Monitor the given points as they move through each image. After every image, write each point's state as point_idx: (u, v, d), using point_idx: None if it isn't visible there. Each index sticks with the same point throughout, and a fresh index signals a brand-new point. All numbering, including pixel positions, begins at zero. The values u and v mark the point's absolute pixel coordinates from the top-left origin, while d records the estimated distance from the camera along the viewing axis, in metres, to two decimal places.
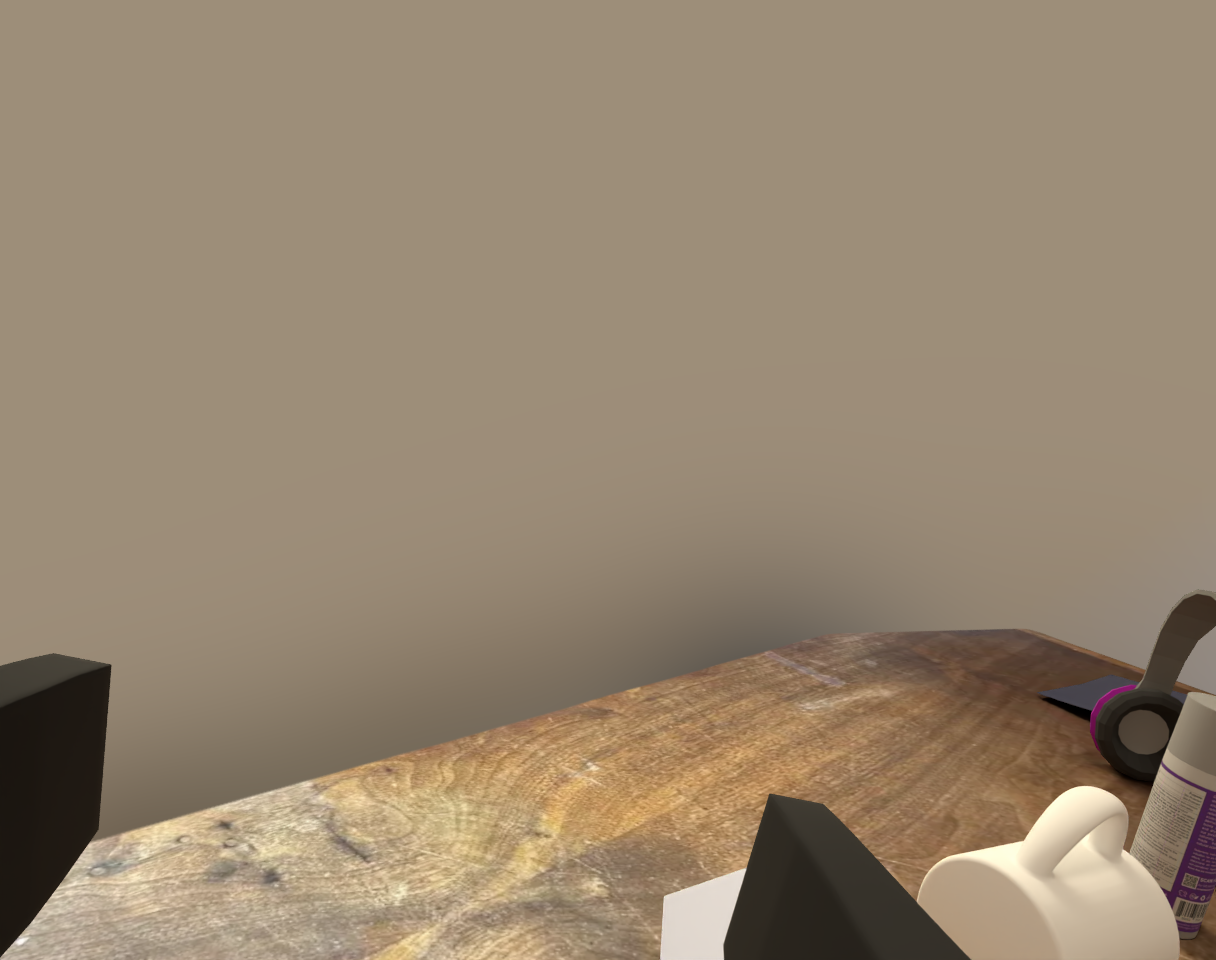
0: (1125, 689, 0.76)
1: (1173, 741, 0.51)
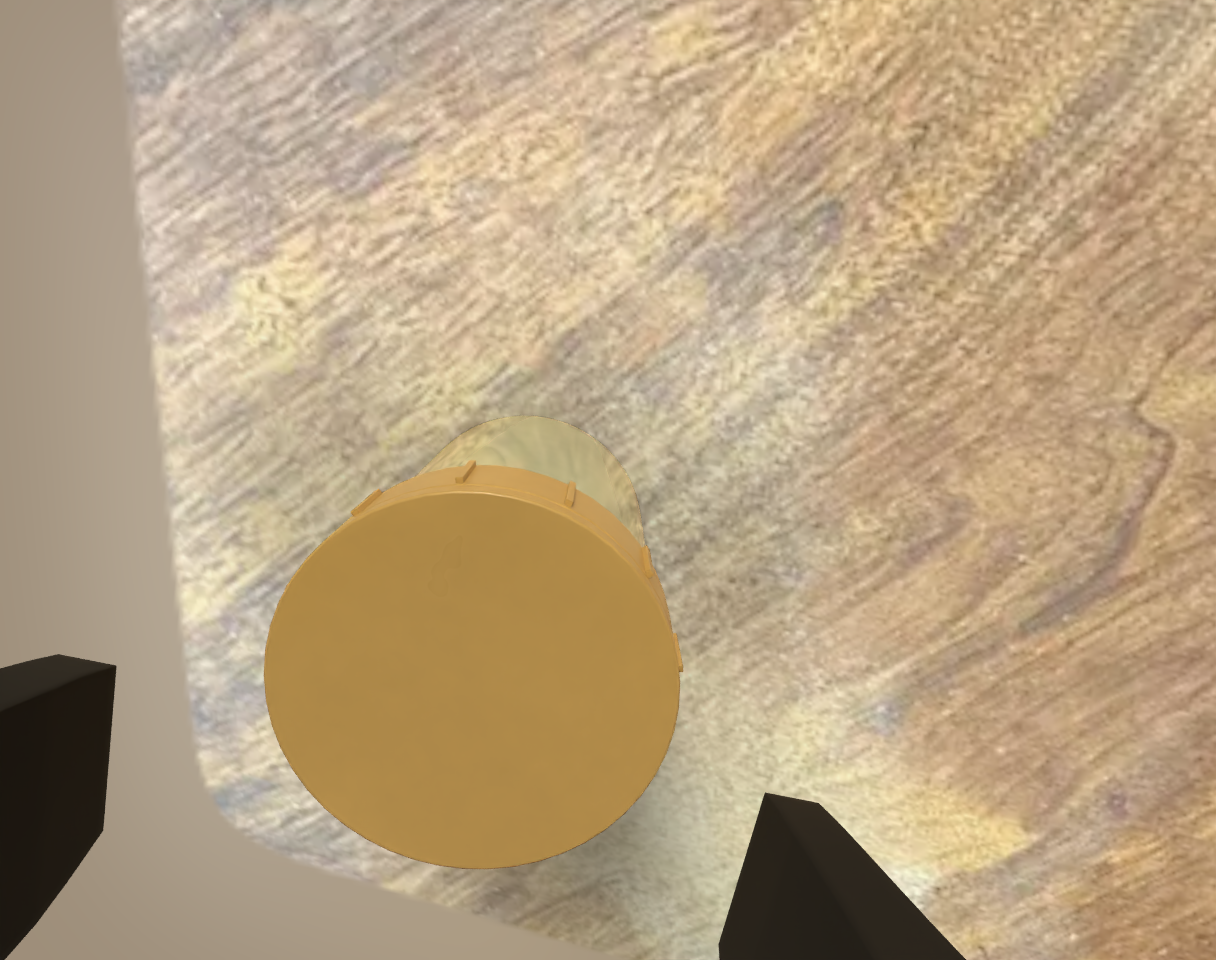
0: None
1: None
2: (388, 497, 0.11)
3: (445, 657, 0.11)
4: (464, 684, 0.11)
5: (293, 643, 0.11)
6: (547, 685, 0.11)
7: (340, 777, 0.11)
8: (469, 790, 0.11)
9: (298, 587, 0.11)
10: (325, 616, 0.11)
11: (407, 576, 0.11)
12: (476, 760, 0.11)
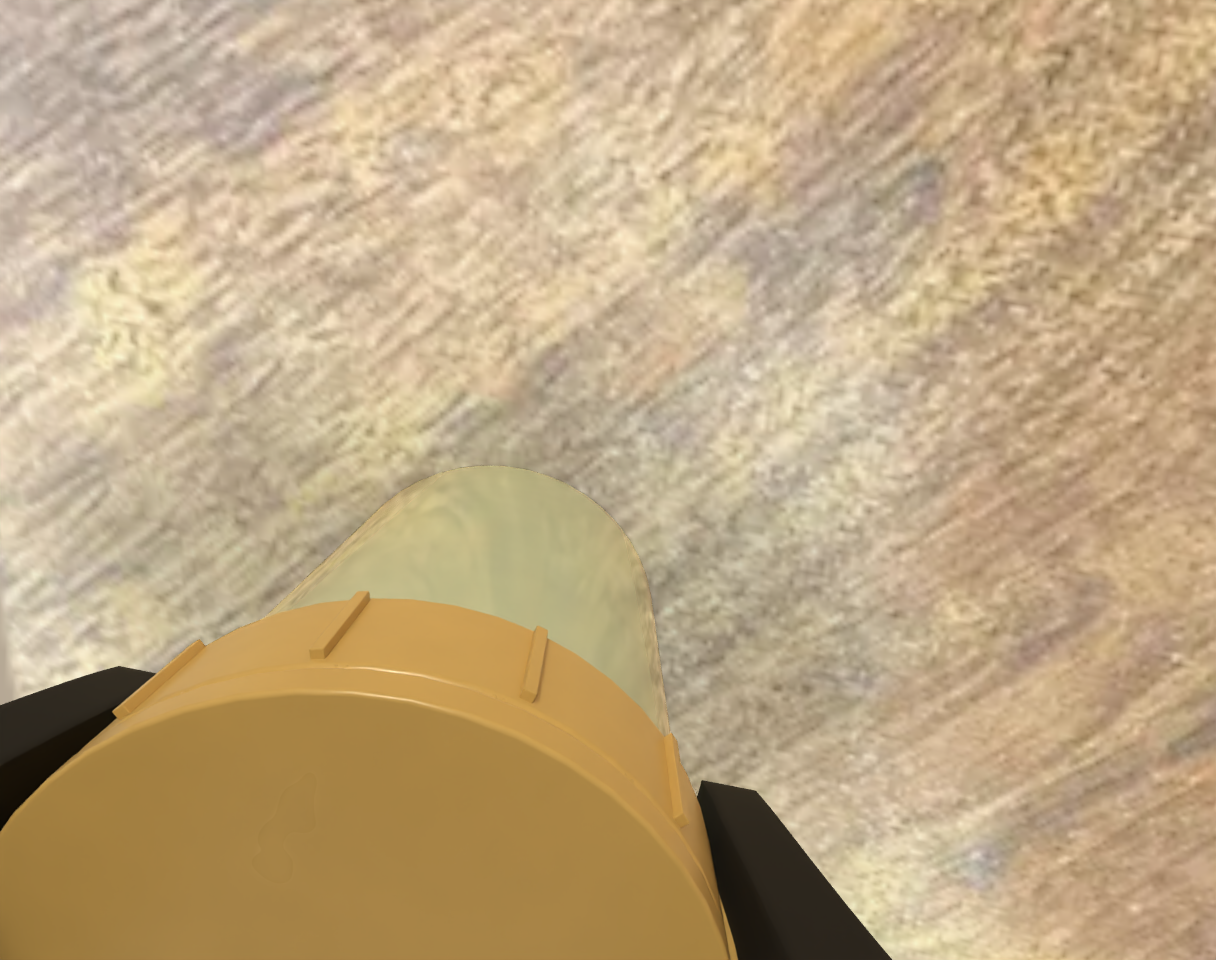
0: None
1: None
2: (188, 680, 0.06)
3: None
4: None
5: None
6: None
7: None
8: None
9: (2, 865, 0.05)
10: (58, 917, 0.06)
11: (211, 847, 0.05)
12: None
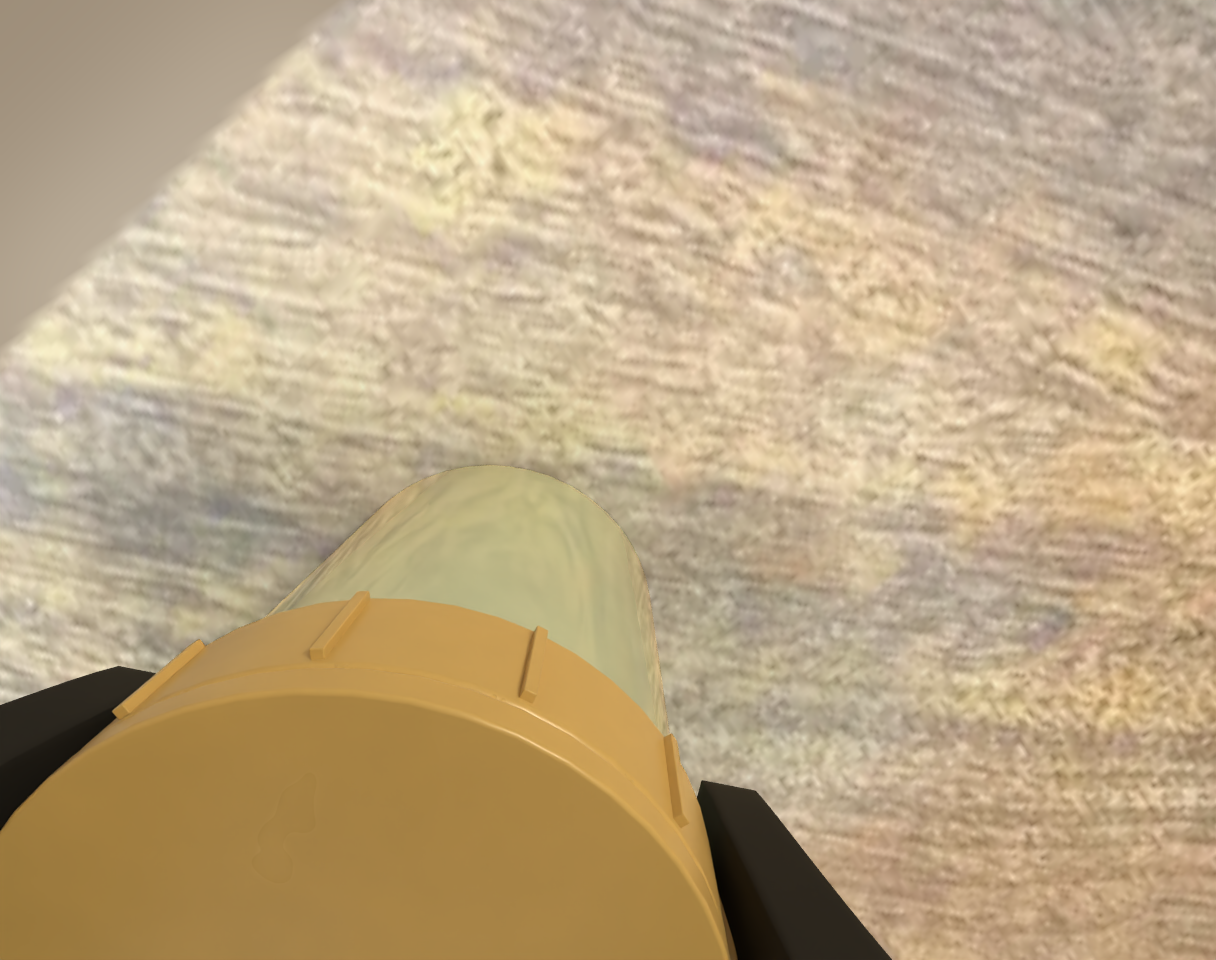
0: None
1: None
2: (187, 680, 0.06)
3: None
4: None
5: None
6: None
7: None
8: None
9: (1, 865, 0.05)
10: (58, 917, 0.06)
11: (211, 847, 0.05)
12: None
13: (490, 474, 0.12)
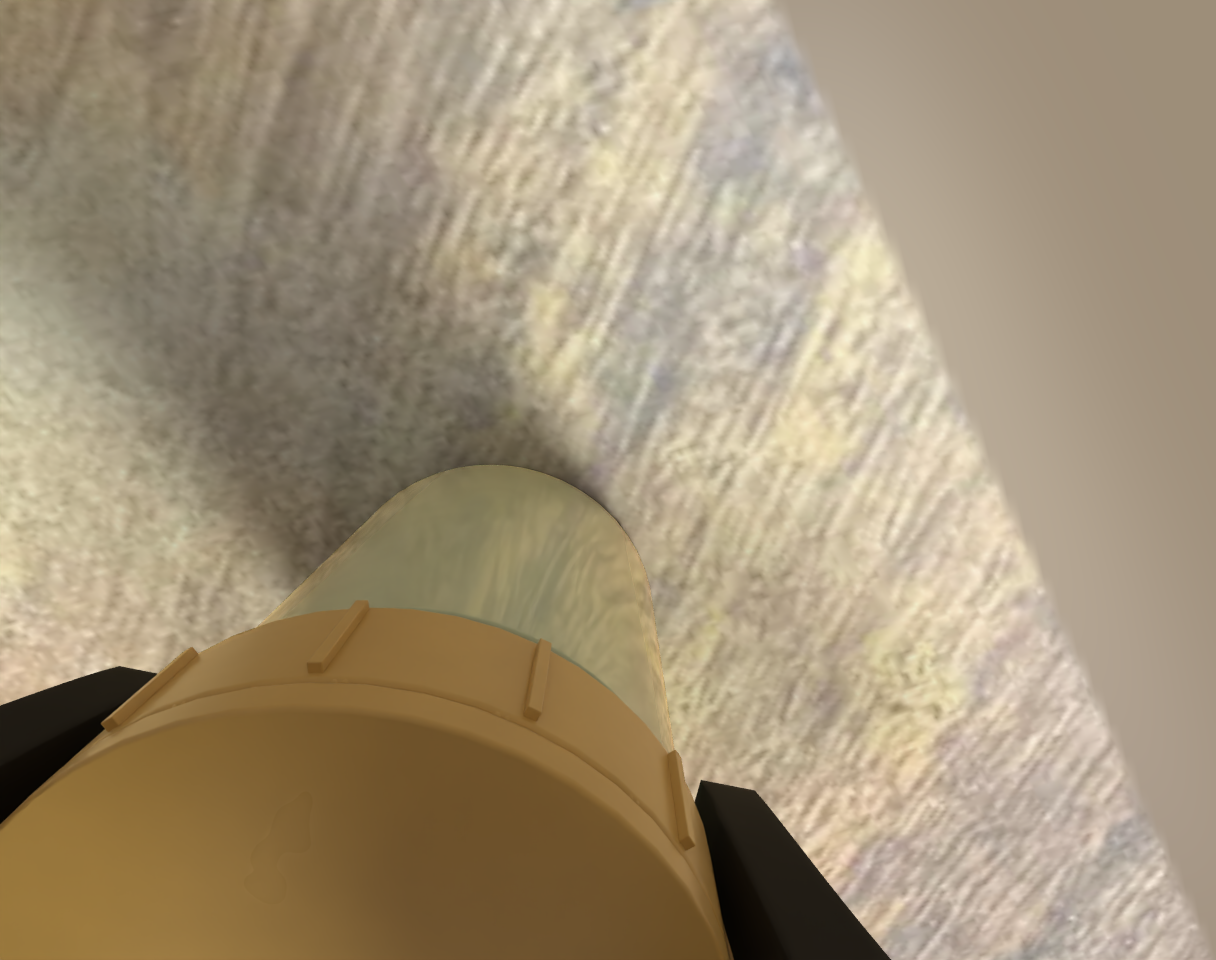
0: None
1: None
2: (179, 692, 0.06)
3: None
4: None
5: None
6: None
7: None
8: None
9: None
10: (41, 936, 0.05)
11: (202, 866, 0.05)
12: None
13: None
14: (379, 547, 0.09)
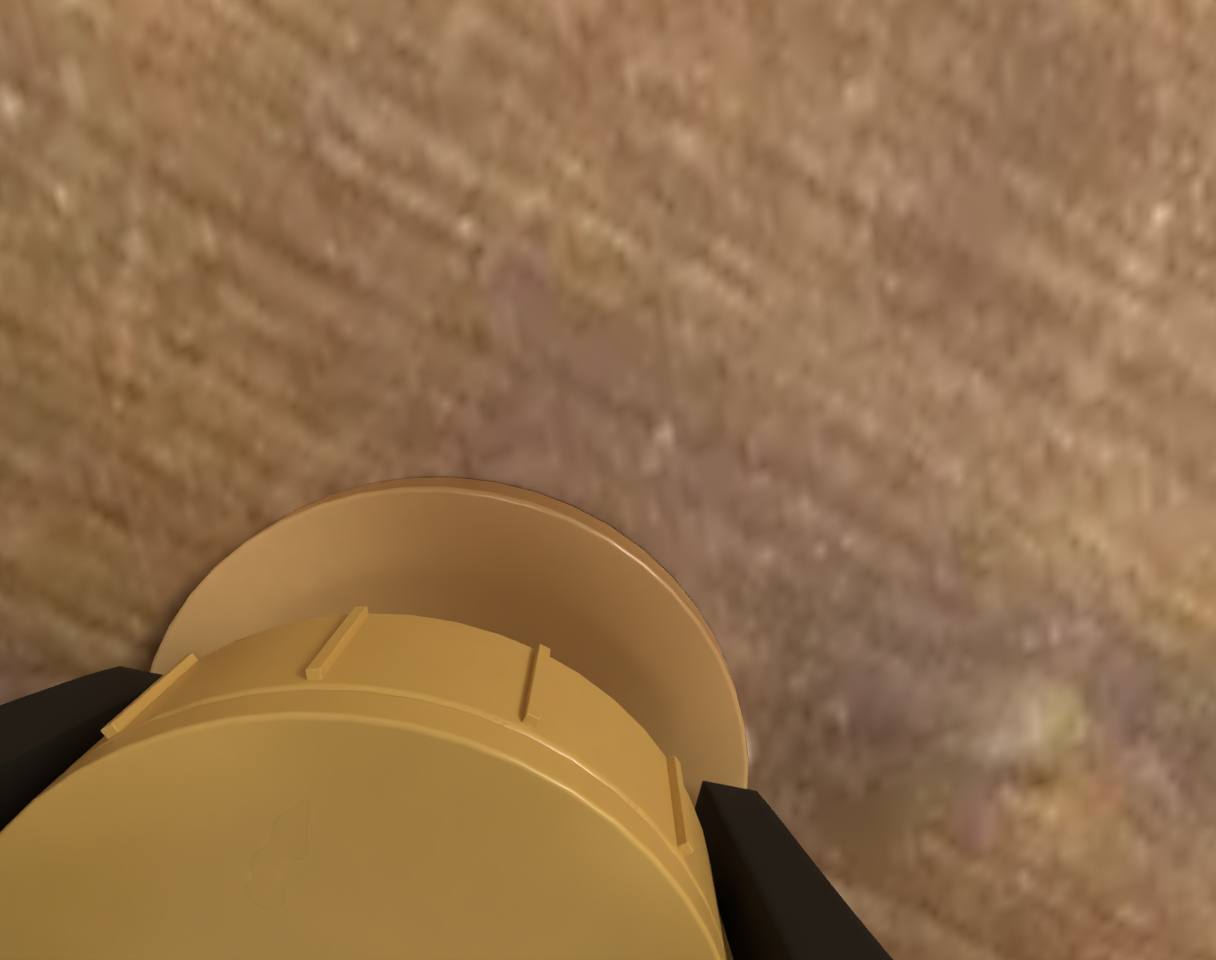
0: None
1: None
2: (179, 699, 0.06)
3: None
4: None
5: None
6: None
7: None
8: None
9: None
10: (41, 942, 0.05)
11: (201, 873, 0.05)
12: None
13: None
14: None
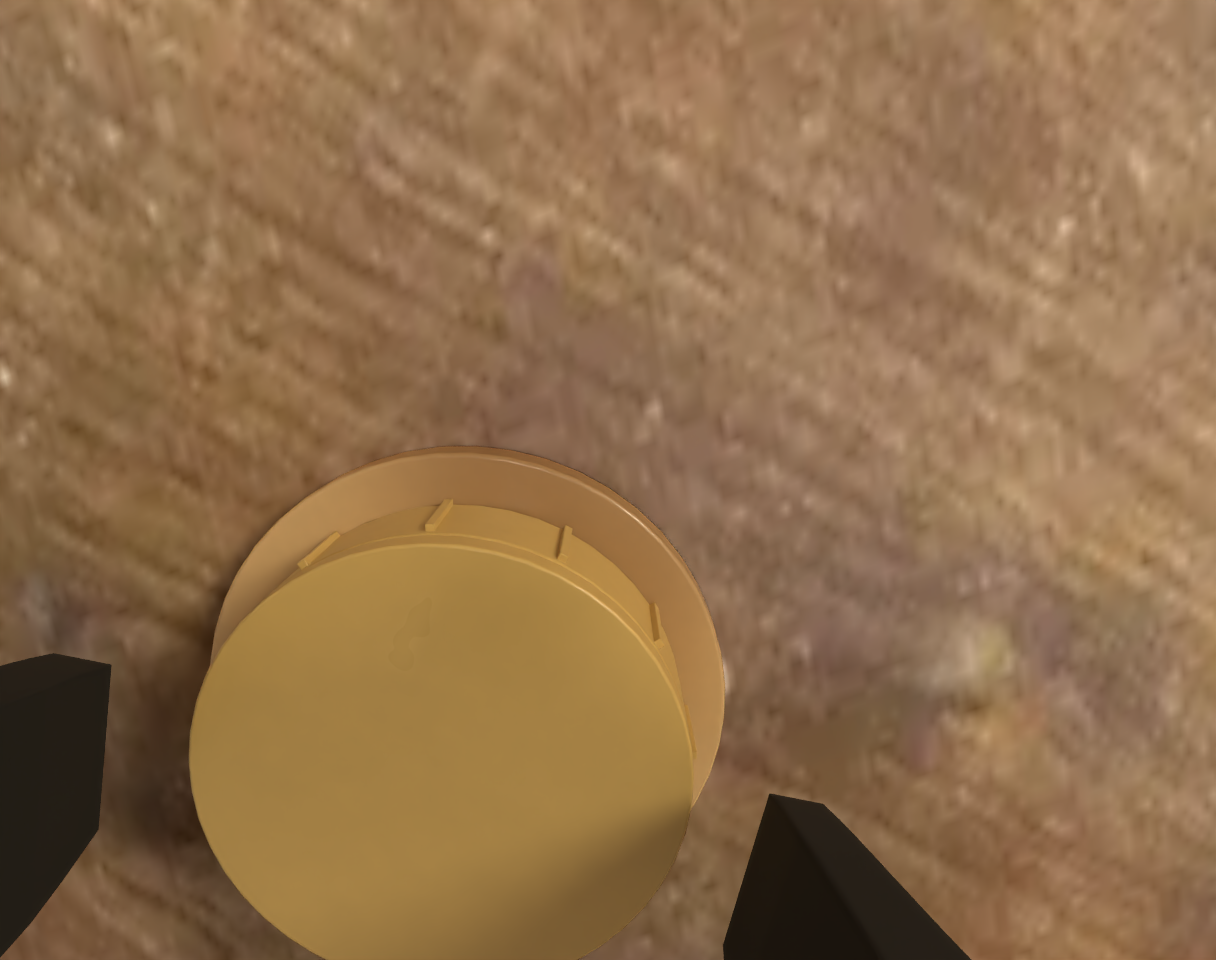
0: None
1: None
2: (343, 546, 0.09)
3: (409, 742, 0.09)
4: (432, 774, 0.09)
5: (224, 723, 0.09)
6: (533, 777, 0.09)
7: (281, 881, 0.09)
8: (437, 898, 0.09)
9: (230, 656, 0.09)
10: (263, 691, 0.09)
11: (363, 645, 0.09)
12: (446, 864, 0.09)
13: None
14: None
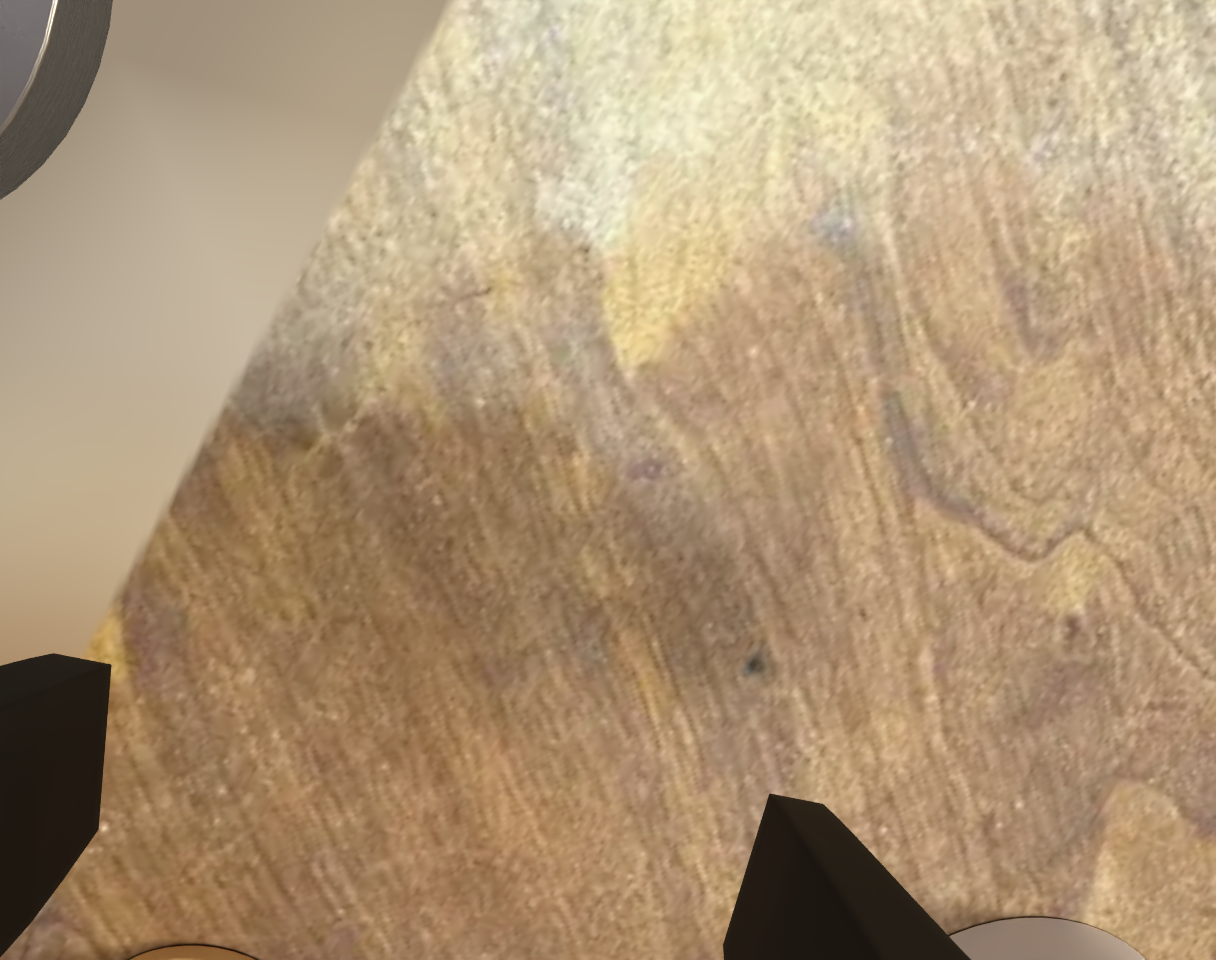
0: None
1: None
2: None
3: None
4: None
5: None
6: None
7: None
8: None
9: None
10: None
11: None
12: None
13: None
14: None
